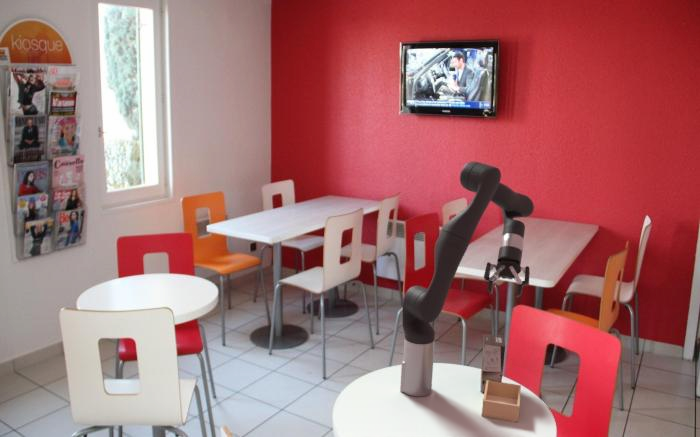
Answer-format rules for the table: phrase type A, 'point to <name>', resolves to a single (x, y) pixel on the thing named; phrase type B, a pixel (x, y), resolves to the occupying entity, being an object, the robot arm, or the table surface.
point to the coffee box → (492, 359)
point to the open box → (501, 401)
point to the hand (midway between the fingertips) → (503, 294)
